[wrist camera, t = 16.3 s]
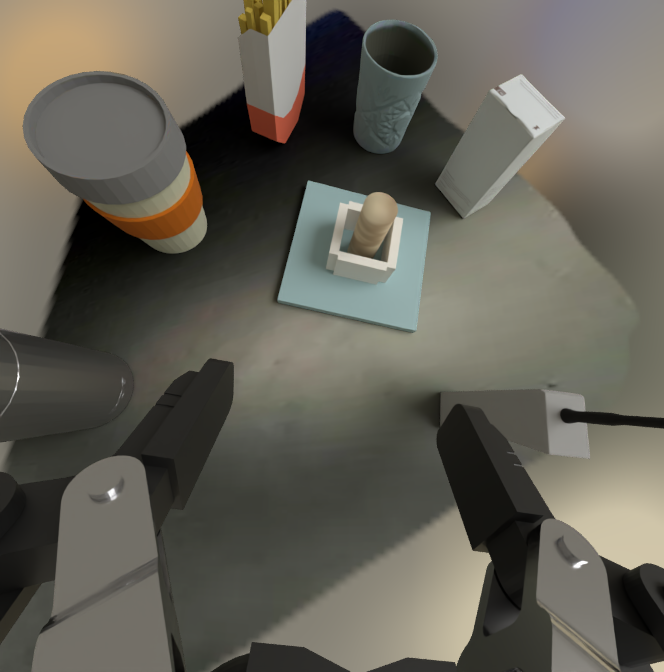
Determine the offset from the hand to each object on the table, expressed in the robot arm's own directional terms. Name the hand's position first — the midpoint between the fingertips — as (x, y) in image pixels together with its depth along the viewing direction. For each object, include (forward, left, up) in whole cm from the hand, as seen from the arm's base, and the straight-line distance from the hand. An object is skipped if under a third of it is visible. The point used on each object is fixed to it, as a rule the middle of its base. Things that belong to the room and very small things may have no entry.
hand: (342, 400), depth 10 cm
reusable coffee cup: (-24, +20, -27) cm, 41 cm away
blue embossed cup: (+2, +46, -27) cm, 53 cm away
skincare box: (+18, +38, -27) cm, 50 cm away
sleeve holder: (+3, +22, -27) cm, 35 cm away
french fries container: (-14, +42, -27) cm, 52 cm away
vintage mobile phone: (+20, +2, -27) cm, 34 cm away
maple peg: (+3, +22, -26) cm, 34 cm away
